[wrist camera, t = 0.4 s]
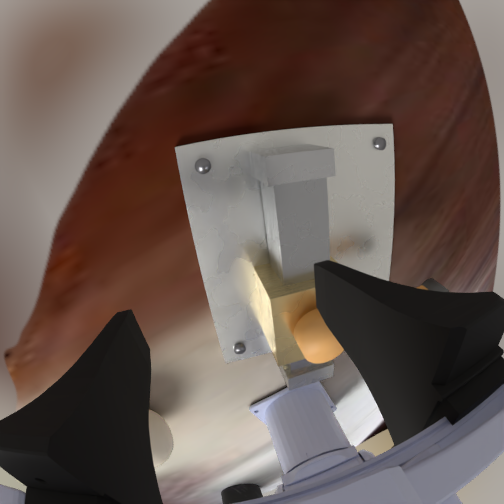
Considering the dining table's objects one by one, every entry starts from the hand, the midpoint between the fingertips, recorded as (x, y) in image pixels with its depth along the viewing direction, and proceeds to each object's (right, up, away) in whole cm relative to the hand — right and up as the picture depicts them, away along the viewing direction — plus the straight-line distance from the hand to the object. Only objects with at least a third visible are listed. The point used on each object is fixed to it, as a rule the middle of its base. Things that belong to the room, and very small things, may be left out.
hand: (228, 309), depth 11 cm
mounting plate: (+5, +2, +11) cm, 13 cm away
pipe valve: (+4, +1, +11) cm, 12 cm away
